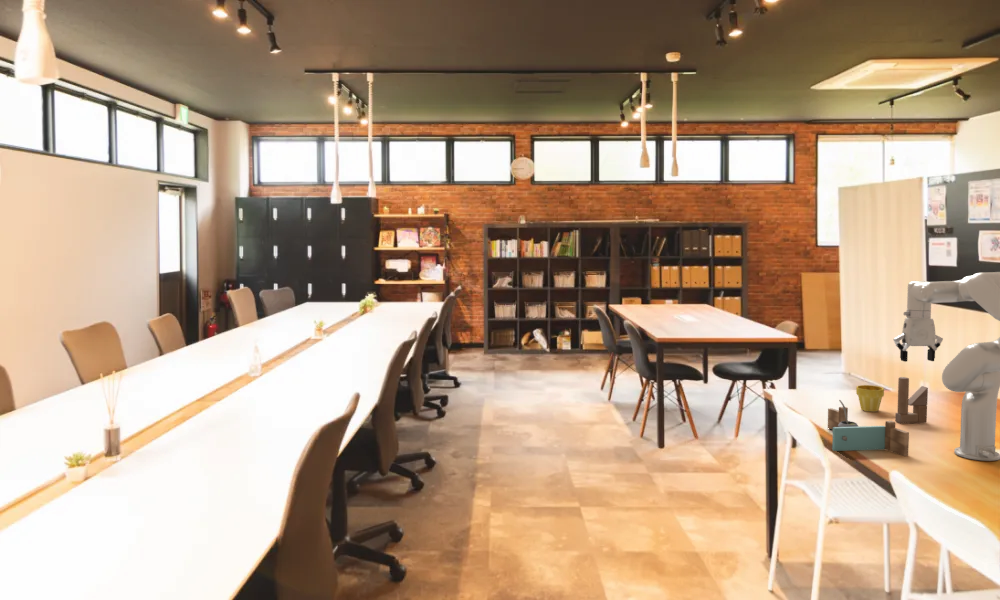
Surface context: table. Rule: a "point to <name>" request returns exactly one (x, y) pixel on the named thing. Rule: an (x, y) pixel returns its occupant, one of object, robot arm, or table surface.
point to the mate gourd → (846, 423)
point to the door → (858, 438)
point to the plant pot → (870, 397)
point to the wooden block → (911, 403)
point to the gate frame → (893, 436)
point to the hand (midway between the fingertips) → (917, 360)
